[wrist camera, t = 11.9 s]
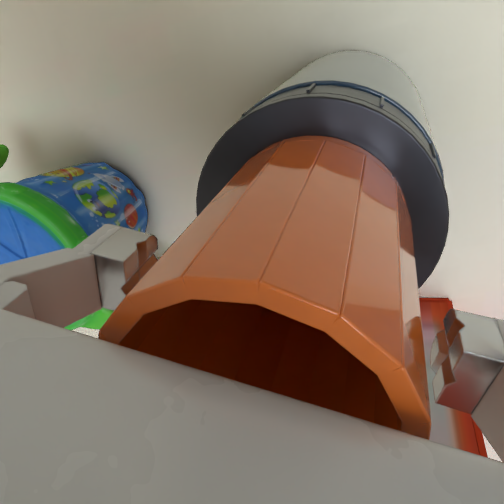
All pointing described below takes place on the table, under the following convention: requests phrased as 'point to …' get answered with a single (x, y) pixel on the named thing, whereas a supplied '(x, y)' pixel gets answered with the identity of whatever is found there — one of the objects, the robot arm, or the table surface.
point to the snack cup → (66, 213)
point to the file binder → (443, 418)
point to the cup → (295, 286)
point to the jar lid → (351, 130)
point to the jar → (364, 83)
